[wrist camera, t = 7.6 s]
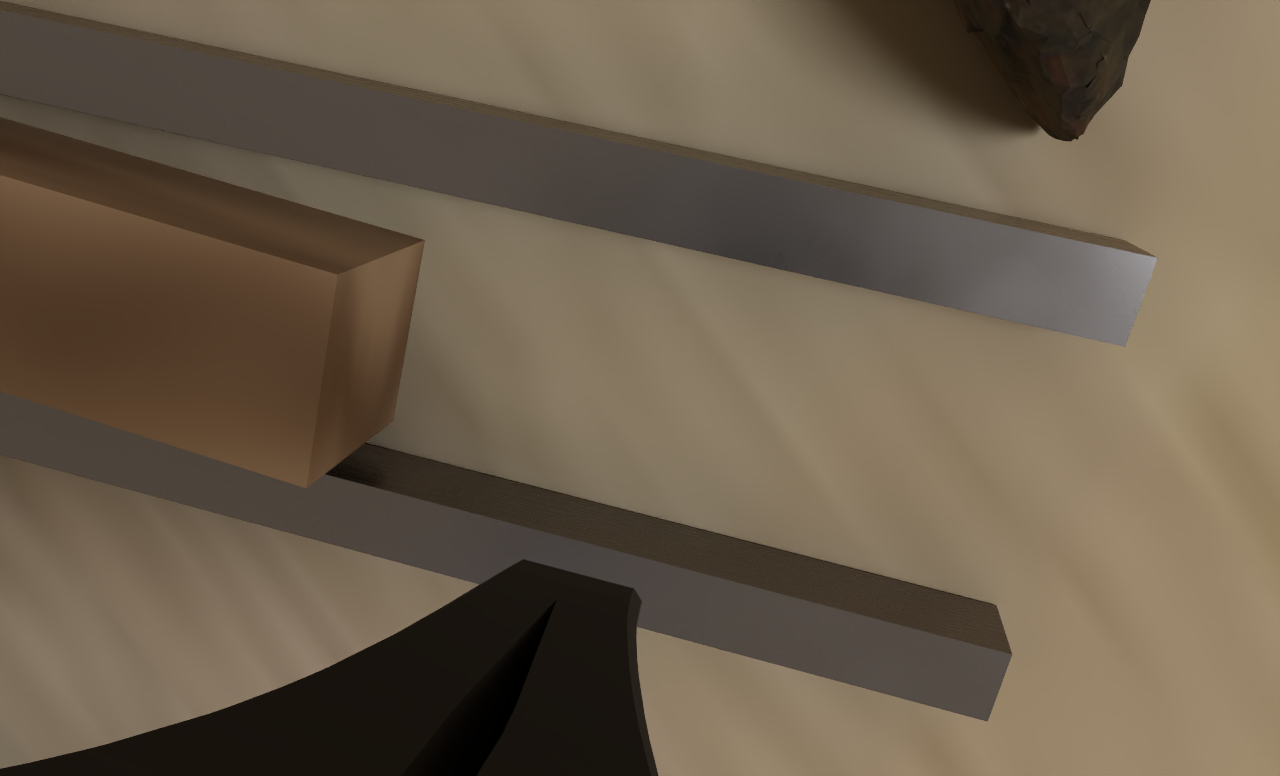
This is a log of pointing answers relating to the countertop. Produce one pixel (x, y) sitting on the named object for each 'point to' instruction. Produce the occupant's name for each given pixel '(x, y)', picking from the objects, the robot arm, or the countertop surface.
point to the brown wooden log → (1058, 53)
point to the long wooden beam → (197, 307)
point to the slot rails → (606, 199)
